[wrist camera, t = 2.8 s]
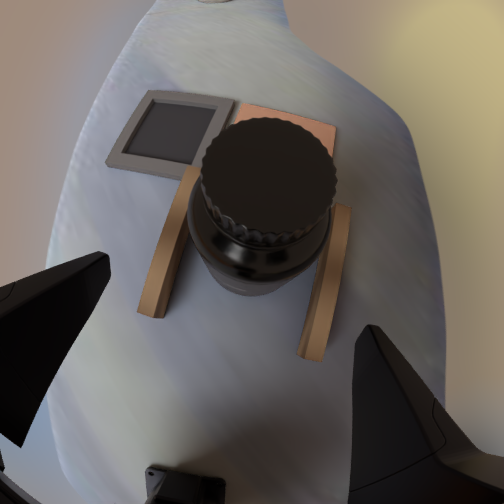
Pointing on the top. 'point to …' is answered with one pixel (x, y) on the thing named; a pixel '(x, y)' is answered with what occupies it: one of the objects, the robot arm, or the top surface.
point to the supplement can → (213, 1)
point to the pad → (316, 128)
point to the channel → (323, 286)
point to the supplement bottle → (262, 204)
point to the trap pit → (169, 133)
